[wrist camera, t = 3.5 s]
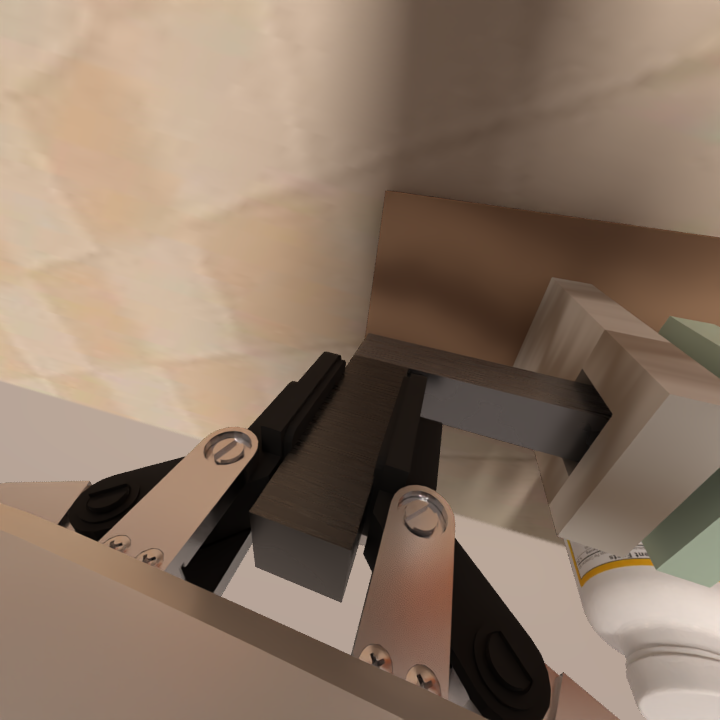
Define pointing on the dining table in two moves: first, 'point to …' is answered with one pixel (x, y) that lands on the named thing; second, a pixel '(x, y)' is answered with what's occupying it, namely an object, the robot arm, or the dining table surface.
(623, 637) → the supplement bottle
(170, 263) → the dining table surface
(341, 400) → the dark grey bent bar
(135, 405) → the dining table surface
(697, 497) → the collar
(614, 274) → the stand
